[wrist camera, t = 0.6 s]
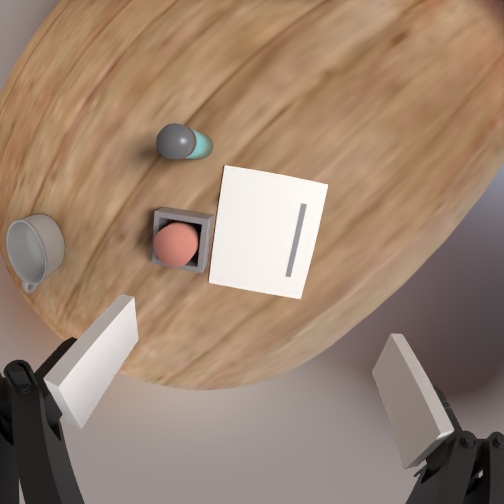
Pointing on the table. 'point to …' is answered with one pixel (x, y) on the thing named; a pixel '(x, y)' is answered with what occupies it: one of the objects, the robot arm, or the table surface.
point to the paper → (265, 231)
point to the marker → (183, 143)
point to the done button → (176, 243)
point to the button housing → (187, 216)
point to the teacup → (35, 249)
